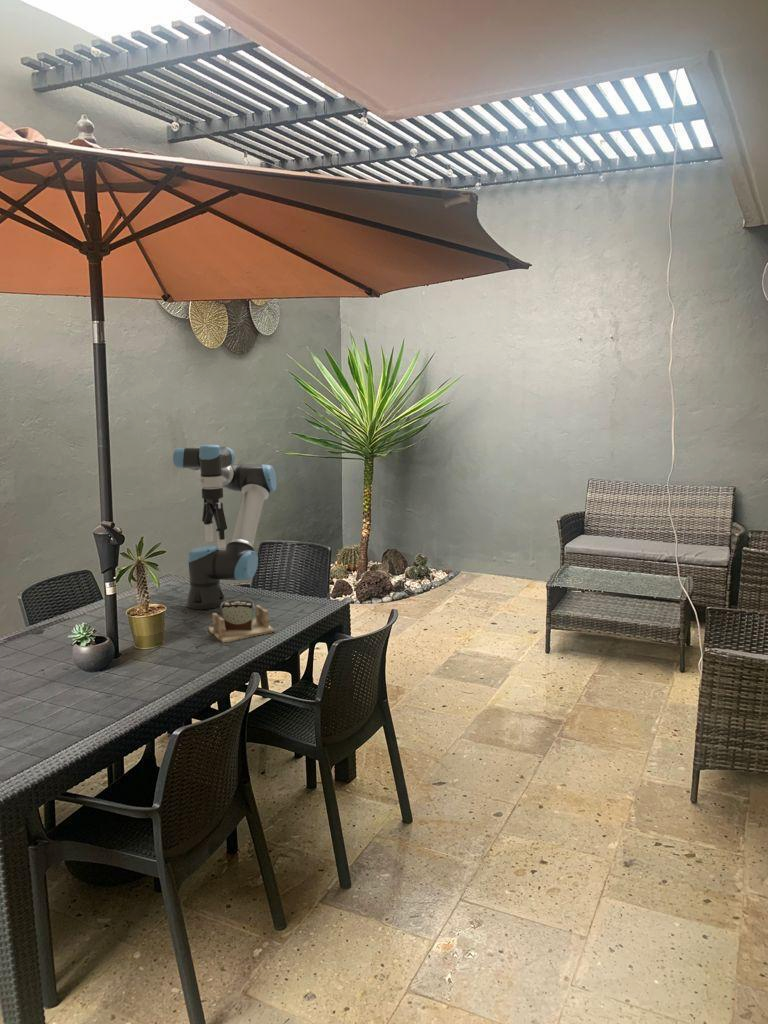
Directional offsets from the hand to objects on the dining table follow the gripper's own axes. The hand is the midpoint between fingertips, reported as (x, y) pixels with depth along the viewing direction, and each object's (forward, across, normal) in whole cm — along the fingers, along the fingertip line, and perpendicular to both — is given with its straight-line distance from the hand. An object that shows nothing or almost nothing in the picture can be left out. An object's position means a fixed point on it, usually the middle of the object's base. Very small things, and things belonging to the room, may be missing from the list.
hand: (215, 544), depth 269 cm
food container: (+28, +16, +2) cm, 32 cm away
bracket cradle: (+29, +17, +2) cm, 33 cm away
